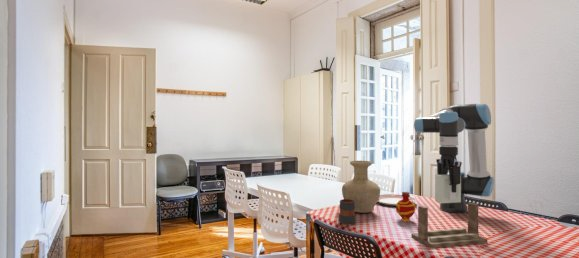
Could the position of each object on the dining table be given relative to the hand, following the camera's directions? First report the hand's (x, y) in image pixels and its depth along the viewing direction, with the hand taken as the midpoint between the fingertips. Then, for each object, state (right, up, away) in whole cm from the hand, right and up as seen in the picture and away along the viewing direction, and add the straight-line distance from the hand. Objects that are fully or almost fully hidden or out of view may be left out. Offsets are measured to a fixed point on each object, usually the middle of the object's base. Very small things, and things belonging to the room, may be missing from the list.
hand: (448, 198), depth 145 cm
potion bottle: (-8, -19, +31) cm, 37 cm away
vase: (-28, -19, +49) cm, 60 cm away
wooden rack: (0, -19, 0) cm, 19 cm away
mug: (-40, -19, +28) cm, 52 cm away
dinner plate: (-1, -19, +72) cm, 74 cm away
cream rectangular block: (0, -2, 0) cm, 2 cm away
